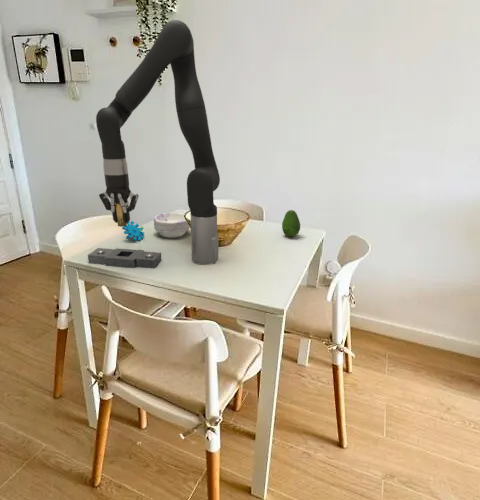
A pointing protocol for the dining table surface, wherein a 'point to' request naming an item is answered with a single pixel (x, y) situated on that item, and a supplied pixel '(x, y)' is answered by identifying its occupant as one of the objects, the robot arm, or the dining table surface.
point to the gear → (133, 231)
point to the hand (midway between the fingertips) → (121, 222)
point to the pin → (120, 215)
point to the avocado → (291, 224)
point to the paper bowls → (171, 224)
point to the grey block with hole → (125, 258)
